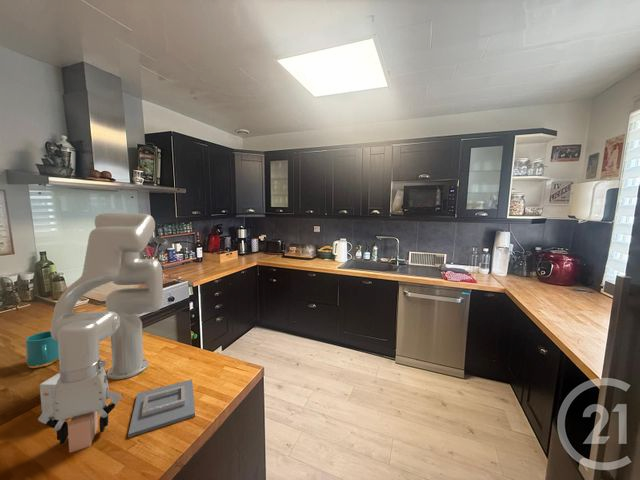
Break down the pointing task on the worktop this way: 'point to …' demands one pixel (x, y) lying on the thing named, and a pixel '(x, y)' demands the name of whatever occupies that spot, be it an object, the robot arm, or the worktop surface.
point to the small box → (48, 393)
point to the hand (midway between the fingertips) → (84, 434)
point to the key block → (82, 431)
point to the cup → (41, 349)
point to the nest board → (162, 407)
